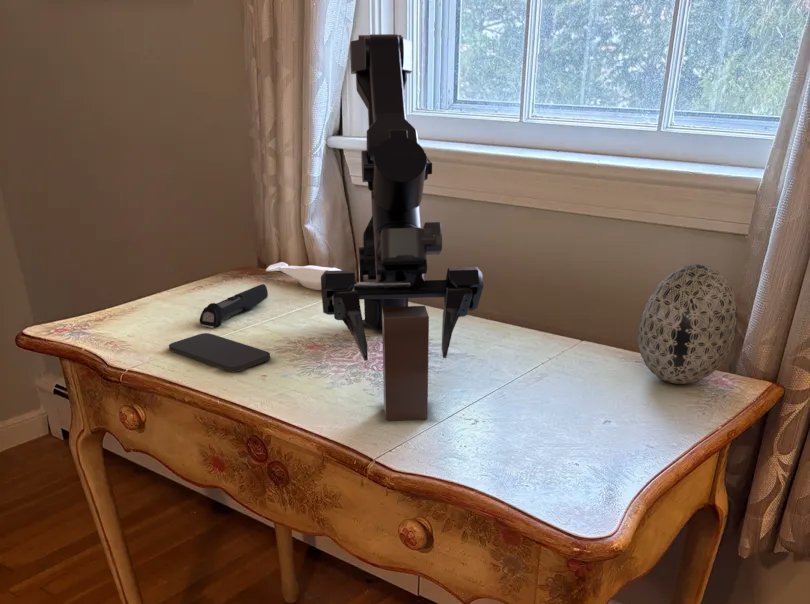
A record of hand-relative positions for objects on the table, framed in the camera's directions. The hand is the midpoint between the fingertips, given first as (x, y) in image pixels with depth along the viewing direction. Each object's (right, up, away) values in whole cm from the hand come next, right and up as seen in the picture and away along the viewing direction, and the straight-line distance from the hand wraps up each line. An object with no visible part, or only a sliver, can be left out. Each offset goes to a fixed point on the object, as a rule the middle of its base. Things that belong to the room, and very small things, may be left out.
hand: (405, 357), depth 92 cm
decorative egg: (+36, 0, +13) cm, 38 cm away
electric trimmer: (-28, +16, +37) cm, 49 cm away
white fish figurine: (-17, +24, +50) cm, 58 cm away
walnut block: (0, -6, +5) cm, 7 cm away
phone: (-27, +5, +21) cm, 35 cm away
